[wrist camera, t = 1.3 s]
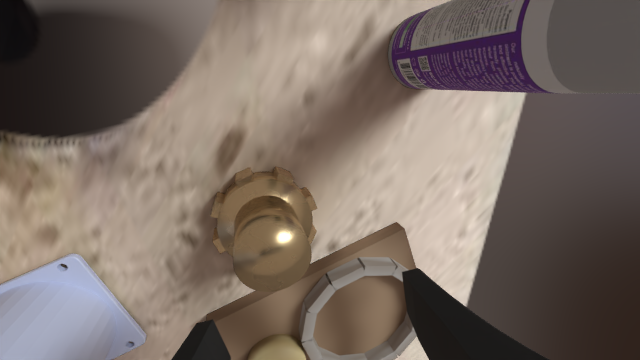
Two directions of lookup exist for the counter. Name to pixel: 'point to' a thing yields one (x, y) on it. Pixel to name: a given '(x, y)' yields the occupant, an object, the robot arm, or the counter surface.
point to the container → (521, 46)
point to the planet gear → (265, 228)
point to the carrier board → (329, 308)
